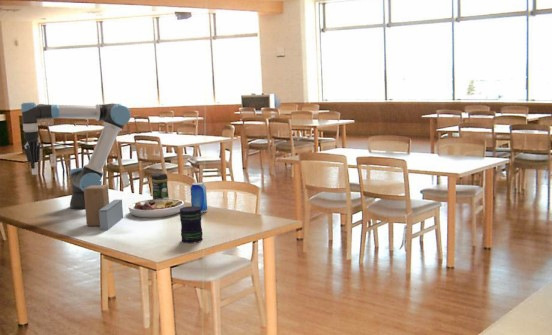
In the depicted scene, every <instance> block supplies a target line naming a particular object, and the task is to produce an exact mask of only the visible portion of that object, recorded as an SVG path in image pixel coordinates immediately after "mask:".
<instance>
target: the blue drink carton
mask: <svg viewBox="0 0 552 335" xmlns="http://www.w3.org/2000/svg"><path fill="white" fill-rule="evenodd" d="M207 196H208V195H207V186H206V184H205V182H200V181H199V182H192V183H191V186H190V200H191V201H190V202H191V206H197V207H201V214H204V213H206V212H207V210H208V200H207V199H208V197H207ZM203 212H204V213H203Z"/></svg>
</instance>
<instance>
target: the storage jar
mask: <svg viewBox="0 0 552 335" xmlns="http://www.w3.org/2000/svg"><path fill="white" fill-rule="evenodd" d="M179 220H180V227H181V228H180V237H181V242H182V243H185V244H195V243H194V242H196V243H199V241H200V242H202V241H203V228H202V213H201V207H197V206H192V205H191V206H184V207H183V208H180V212H179Z"/></svg>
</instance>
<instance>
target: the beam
mask: <svg viewBox="0 0 552 335" xmlns="http://www.w3.org/2000/svg"><path fill="white" fill-rule="evenodd" d="M99 219H100V226H99V230H100V231H109V230H110V229H112V228H113V227H114V226H115V225H117V224H118V223H119V222H120V221H121V220H122V219H124V210H123V199H113V200H112V201H111V202H110V201H109V204H107V205H106V206H104V207H103V208H102V209H100V210H99Z"/></svg>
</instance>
